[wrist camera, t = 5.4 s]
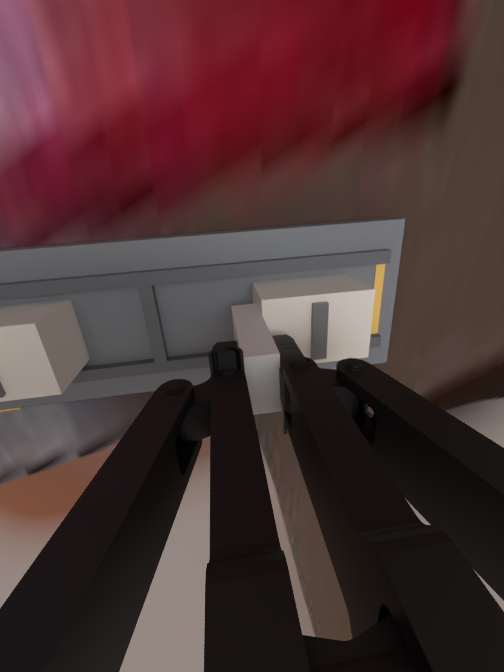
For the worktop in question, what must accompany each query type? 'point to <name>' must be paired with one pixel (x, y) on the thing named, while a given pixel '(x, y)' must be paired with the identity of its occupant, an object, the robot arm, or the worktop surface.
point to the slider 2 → (319, 314)
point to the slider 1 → (39, 349)
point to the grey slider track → (188, 294)
